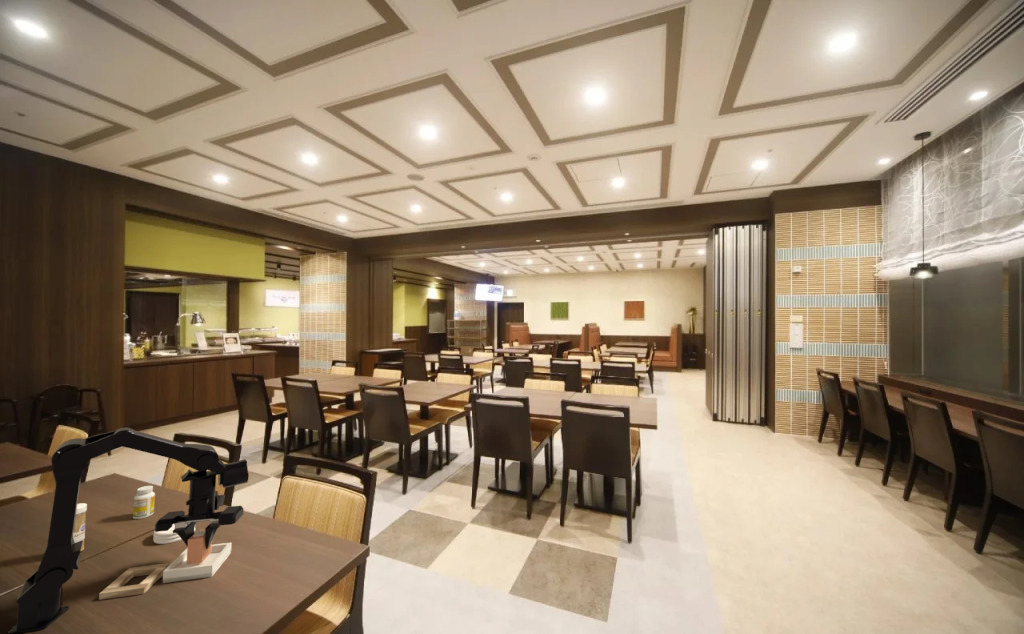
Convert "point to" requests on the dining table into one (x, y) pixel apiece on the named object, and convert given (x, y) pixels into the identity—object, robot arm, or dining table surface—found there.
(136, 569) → the holder
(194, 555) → the block
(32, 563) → the dining table surface
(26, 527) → the dining table surface
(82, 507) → the sprinkles bottle
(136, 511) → the supplement bottle
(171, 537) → the coaster
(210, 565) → the tray
